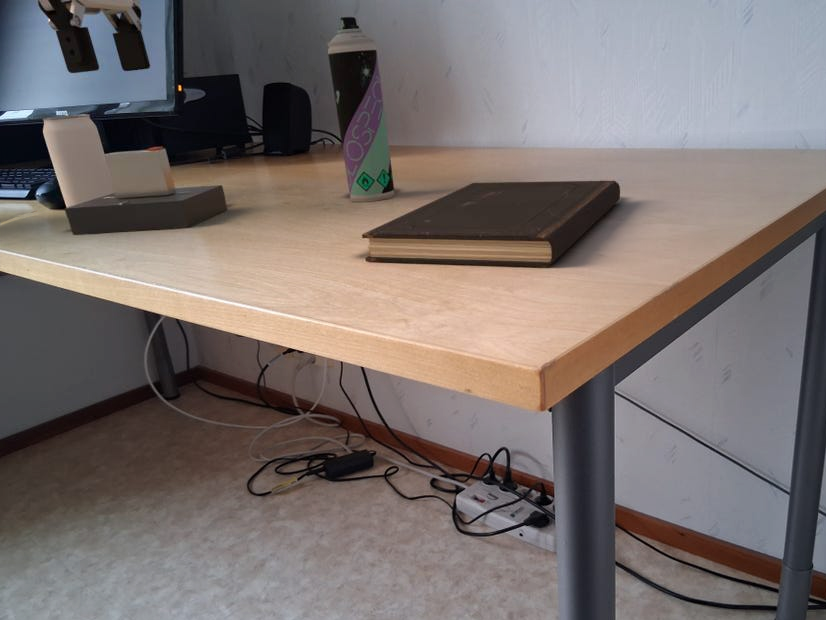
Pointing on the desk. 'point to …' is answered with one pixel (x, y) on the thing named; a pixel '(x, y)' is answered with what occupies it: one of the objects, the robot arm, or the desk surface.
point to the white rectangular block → (140, 173)
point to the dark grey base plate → (147, 211)
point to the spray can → (360, 113)
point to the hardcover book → (495, 224)
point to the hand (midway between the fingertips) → (112, 70)
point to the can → (77, 158)
